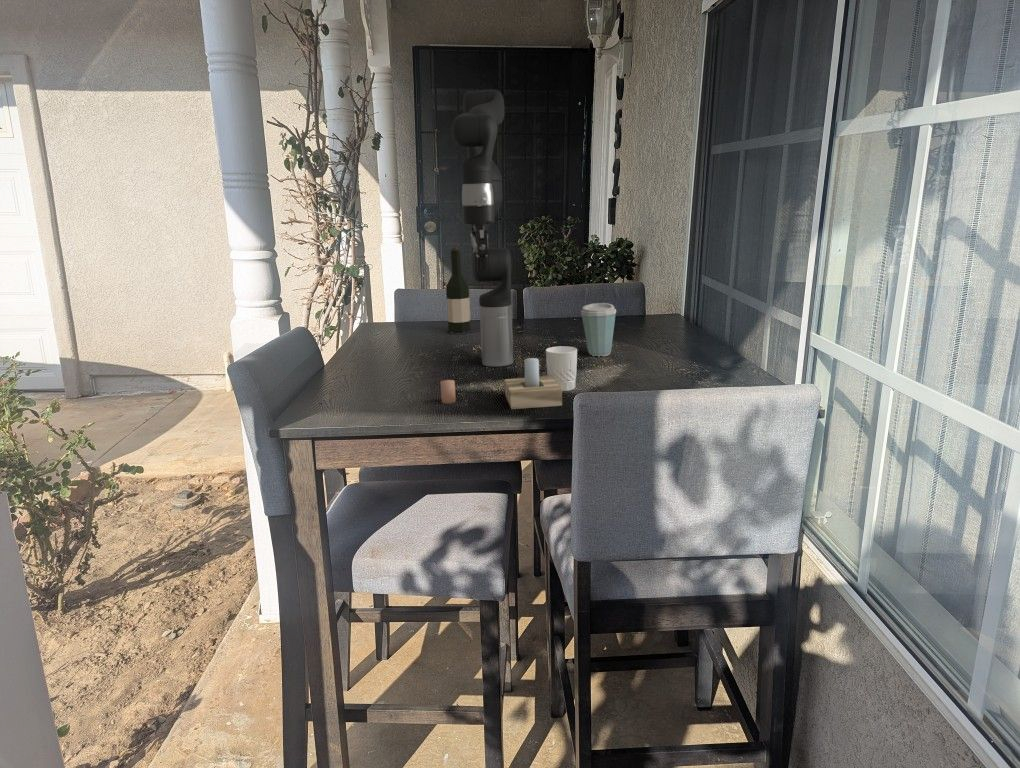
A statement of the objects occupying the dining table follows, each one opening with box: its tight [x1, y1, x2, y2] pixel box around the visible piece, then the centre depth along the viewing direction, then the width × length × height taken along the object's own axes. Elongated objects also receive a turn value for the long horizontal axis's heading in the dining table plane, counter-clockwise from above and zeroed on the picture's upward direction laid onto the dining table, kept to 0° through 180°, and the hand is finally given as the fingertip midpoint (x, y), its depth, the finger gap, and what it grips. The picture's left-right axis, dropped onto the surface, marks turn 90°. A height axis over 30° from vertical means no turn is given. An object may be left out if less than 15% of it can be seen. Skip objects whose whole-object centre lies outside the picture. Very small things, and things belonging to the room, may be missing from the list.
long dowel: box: [523, 357, 540, 388], centre depth 170 cm, size 3×3×10 cm
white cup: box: [545, 345, 578, 392], centre depth 179 cm, size 8×8×10 cm
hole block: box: [504, 376, 563, 410], centre depth 171 cm, size 12×12×4 cm
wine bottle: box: [445, 247, 472, 333], centre depth 254 cm, size 8×8×30 cm
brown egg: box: [440, 379, 457, 405], centre depth 172 cm, size 3×3×5 cm
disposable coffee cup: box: [580, 302, 617, 358], centre depth 213 cm, size 11×11×15 cm
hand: (481, 271), depth 175 cm, fingers open, 8 cm apart
